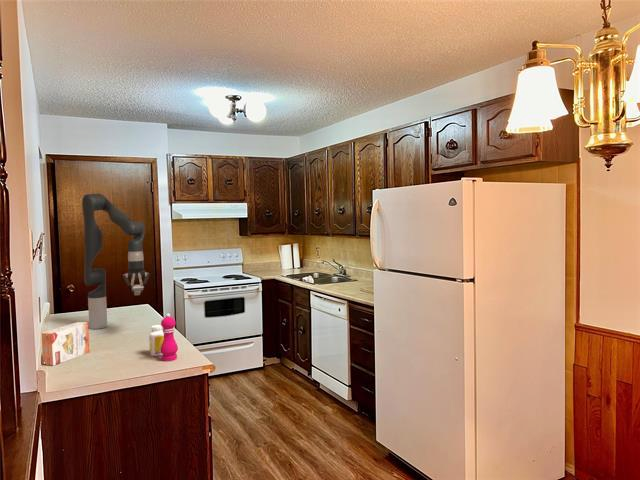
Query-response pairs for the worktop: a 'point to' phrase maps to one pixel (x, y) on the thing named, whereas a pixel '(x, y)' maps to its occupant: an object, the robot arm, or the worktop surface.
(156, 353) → the supplement bottle
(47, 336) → the cracker box
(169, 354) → the pepper mill
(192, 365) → the worktop surface
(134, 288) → the tan flat bar
